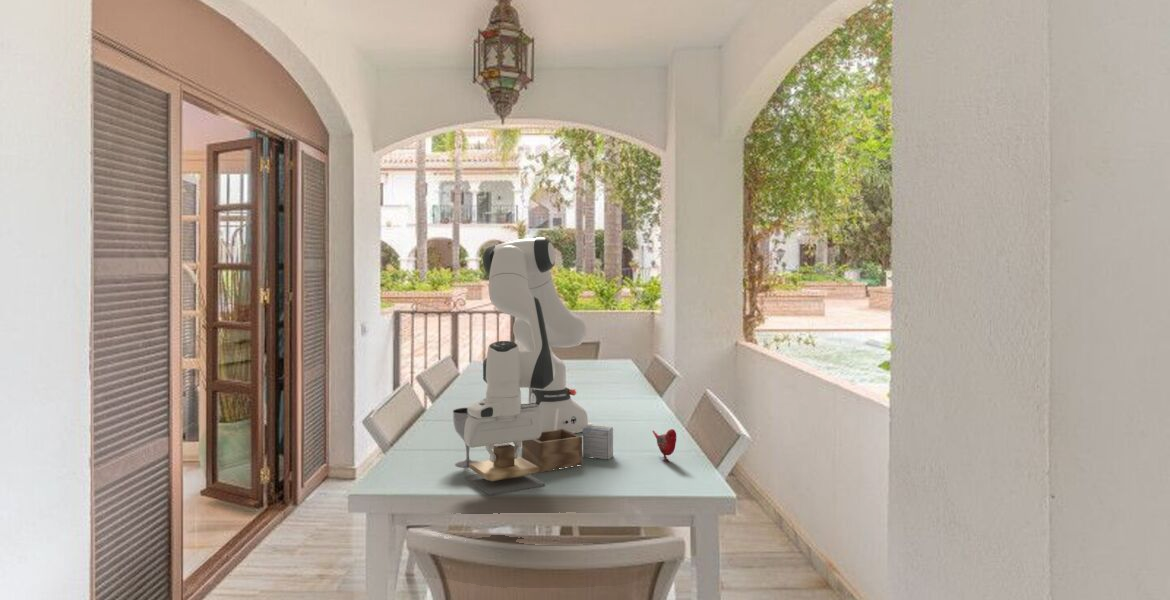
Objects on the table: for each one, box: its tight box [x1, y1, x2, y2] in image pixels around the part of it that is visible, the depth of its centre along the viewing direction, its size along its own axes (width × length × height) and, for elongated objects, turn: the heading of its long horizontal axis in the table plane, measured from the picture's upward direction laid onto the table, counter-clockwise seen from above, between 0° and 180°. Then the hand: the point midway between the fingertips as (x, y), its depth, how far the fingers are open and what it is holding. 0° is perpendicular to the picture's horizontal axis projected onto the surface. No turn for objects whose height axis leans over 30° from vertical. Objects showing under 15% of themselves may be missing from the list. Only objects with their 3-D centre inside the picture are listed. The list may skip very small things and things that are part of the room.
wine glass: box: [452, 407, 480, 469], centre depth 199 cm, size 8×8×15 cm
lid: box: [469, 443, 539, 481], centre depth 183 cm, size 14×12×7 cm
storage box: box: [521, 429, 583, 473], centre depth 199 cm, size 13×11×8 cm
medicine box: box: [582, 424, 614, 460], centre depth 207 cm, size 8×4×9 cm, turn 71°
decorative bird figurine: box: [652, 428, 677, 463], centre depth 205 cm, size 3×18×10 cm, turn 15°
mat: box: [464, 473, 546, 496], centre depth 183 cm, size 15×16×1 cm
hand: (503, 459), depth 183 cm, fingers closed on lid, 4 cm apart
